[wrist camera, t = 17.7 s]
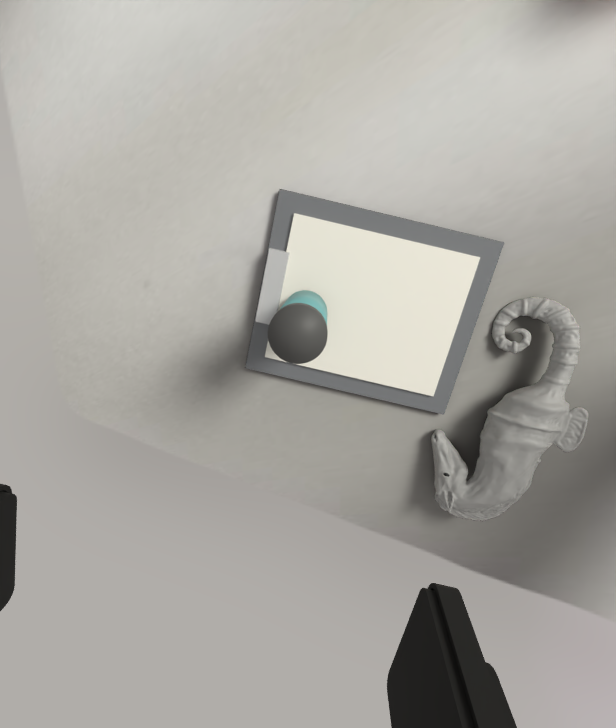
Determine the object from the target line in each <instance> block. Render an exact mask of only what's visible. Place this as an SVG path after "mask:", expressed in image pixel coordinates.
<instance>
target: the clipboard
mask: <svg viewBox="0 0 616 728" xmlns="http://www.w3.org/2000/svg"><path fill="white" fill-rule="evenodd" d="M503 245H504V242H500V241H496V240H492V239H488V238H484V237H479V236H475V235H471V234H467V233H463V232H458V231H454V230H450V229H446V228H442V227H438V226H433V225H429V224H425V223H421V222H417V221H412V220H408V219H404V218H400V217H396V216H392V215H387V214H383V213H379V212H375V211H371V210H366V209H362V208H358V207H354V206H350V205H345V204H341V203H337V202H333V201H329V200H325V199H320V198H316V197H312V196H308V195H304V194H299V193H295V192H291V191H287V190H283V189H280V190H279V196H278V201H277V206H276V211H275V216H274V222H273V227H272V232H271V237H270V242H269V247H268V253H267V258H266V263H265V268H264V273H263V279H262V284H261V289H260V294H259V299H258V305H257V310H256V315H255V320H254V325H253V331H252V336H251V341H250V346H249V351H248V357H247V362H246V367H245V368H247V369H251V370H256V371H260V372H264V373H268V374H273V375H277V376H281V377H285V378H290V379H294V380H298V381H303V382H307V383H311V384H315V385H320V386H324V387H328V388H333V389H337V390H341V391H345V392H350V393H354V394H358V395H362V396H367V397H371V398H375V399H380V400H384V401H388V402H392V403H397V404H401V405H405V406H409V407H414V408H418V409H422V410H427V411H431V412H435V413H439V414H444V413H445V410H446V407H447V404H448V401H449V399H450V396H451V393H452V390H453V387H454V384H455V382H456V379H457V376H458V373H459V370H460V367H461V364H462V362H463V359H464V356H465V353H466V350H467V347H468V344H469V342H470V339H471V336H472V333H473V330H474V327H475V325H476V322H477V319H478V316H479V313H480V310H481V307H482V305H483V302H484V299H485V296H486V293H487V290H488V287H489V285H490V282H491V279H492V276H493V273H494V270H495V268H496V265H497V262H498V259H499V256H500V253H501V250H502V248H503ZM302 290H308V291H312V292H315V293H317V294H318V295H319V296H321V298H322V299H323V300H324V302H325V304H326V306H327V330H328V335H327V343H326V346H325V348H324V350H323V351H322V353H321V354H320V355H319V356H318V357H317V358H315V359H314V360H312V361H310V362H307V363H303V364H293V363H289V362H286V361H284V360H282V359H281V358H279V357H278V356H277V355H276V354H275V353H274V352H273V350H272V348H271V347H270V344H269V341H268V327H269V324H270V321H271V320H272V318H273V317H274V315H275V314H276V313H277V312H278V311H279V310H280V308H281V307H282V306H283V304H284V303H285V302H286V300H287V299H288V298H289V297H290V296H291V295H292V294H293V293H295V292H298V291H302Z"/></svg>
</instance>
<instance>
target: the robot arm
mask: <svg viewBox="0 0 616 728" xmlns="http://www.w3.org/2000/svg"><path fill="white" fill-rule="evenodd" d="M16 510H17V497H16V496H15V494H12V491H11V488H10V486H7V485H3V484H0V611H1V610H2V609H3V608H4V606H5V605H6V604H7V603H8V601H9V600H10V598H11V596H12V593H13V591H14V586H15V549H16ZM387 692H388V701H389V709H390V717H391V726H392V728H517V727H516V724H515V721H514V719H513V716H512V714H511V711H510V708H509V705H508V703H507V700H506V697H505V695H504V692H503V689H502V687H501V684H500V681H499V679H498V676H497V674H496V672H495V670H494V668H493V667H492V666H491V665H490V664H489V663H486V662H485V660H484V657H483V655H482V652H481V649H480V646H479V643H478V641H477V638H476V635H475V632H474V630H473V627H472V624H471V621H470V618H469V616H468V613H467V610H466V607H465V604H464V602H463V599H462V596H461V594H460V592H459V590H458V589H457V588H453V587H448V586H444V585H440V584H436V583H431V584H430V585H429V587H428V589H426V588H422V589H421V590H420V592H419V595H418V598H417V600H416V603H415V605H414V608H413V611H412V613H411V616H410V618H409V621H408V624H407V626H406V629H405V632H404V634H403V637H402V639H401V642H400V644H399V647H398V650H397V652H396V655H395V658H394V660H393V663H392V665H391V668H390V670H389V674H388V680H387Z"/></svg>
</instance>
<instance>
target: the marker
mask: <svg viewBox="0 0 616 728" xmlns="http://www.w3.org/2000/svg"><path fill="white" fill-rule="evenodd" d="M327 335H328V330H327V306H326V304H325V302H324V300H323V299H322V298H321V296H319V295H318V294H317V293H315V292H312V291H308V290H302V291H298V292H295V293H293V294H292V295H291V296H290V297H289V298H288V299H287V300H286V302H285V303H284V304H283V306H282V307H281V308H280V310H279V311H278V312H277V313H276V314H275V315H274V317H273V318H272V320H271V321H270V324H269V327H268V341H269V344H270V347H271V348H272V350H273V352H274V353H275V354H276V355H277V356H278V357H279V358H281V359H282V360H284V361H286V362H289V363H293V364H303V363H307V362H310V361H312V360H314V359H315V358H317V357H318V356H319V355H320V354H321V353H322V351H323V350H324V348H325V346H326V343H327Z"/></svg>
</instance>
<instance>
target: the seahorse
mask: <svg viewBox="0 0 616 728" xmlns="http://www.w3.org/2000/svg"><path fill="white" fill-rule="evenodd" d="M519 316H530V317H532V318H533V319H539V320H541V321H542V322H544V323H546V324H547V325H548V326H549V327H550V331H551V332H552V333H553V336H554V344H552V347H553V351H552V355H551V356H550V362H549V365H548V368H547V370H546V372H545V373H544V374H543V375H542V377H541V379H540V380H539V381H538V382H537V383H535V384H533V385H530V386H527V387H523V388H520V389H517V390H514V391H512V392H510V393H507V394H506V395H505V396H504V397H503V399H502V400H501V401H500V402H498V403H497V404H496V405H495V406H494V407H491V408H489V410H488V411H487V414H488V417H487V419H486V422H485V425H484V429H483V430H482V431H481V434H480V439H481V442H480V450H479V452H480V456H479V458H478V460H477V464H476V469H475V472H474V474H473V476H472V477H471V478H470V479H467V475H468V467H467V466H466V463H465V462H464V461H463V460H462V458H461V456H460V454H459V453H458V451H457V450H456V449H455V447H454V446H453V445H452V444H451V442H450V441H449V440H448V439H447V437H446V436H445V433H444V432H443V431H442V430H440V429H437V430H435V432H434V433H433V434H432V436H431V442H432V447H433V456H434V467H435V481H434V486H435V489H436V493H435V496H434V498H435V501H436V502H437V503H438V504H439V506H440V508H441V509H443V510H444V511H448V512H449V513H450V514H452V515H454V516H456V517H460V518H465V519H471V520H474V521H476V520H480V521H484V520H488V519H492V518H494V517H497V516H499V515H500V514H501V513H504V512H505V511H506V510H507V509H508V508H509V506H511V505H513V504H514V503H515V502H517V501H518V500H519V498H520V497H521V496H522V495H523V494H524V493H525V492H526V491H527V490H528V489H529V487H530V486H531V482H532V478H533V473H534V471H535V469H536V467H537V465H538V463H540V462H541V460H540V457H541V455H542V454H543V453H544V451H545V450H546V449H547V448H549V447H550V446H551V445H552V444H554V445H556V446H557V447H559V448H560V449H562V450H563V451H564V452H571V451H573V450H574V449H575V448H576V447H577V446H578V445H579V444H580V443H581V441H582V440H583V437H584V433H585V430H586V427H587V422H588V416H589V414H588V412H587V411H586V410H585V409H584V408H582V407H576V408H574V409H572V410H571V411H569V408H570V406H569V404H568V403H567V402H566V401H565V392H566V389H567V386H568V385H569V384H570V378H571V375H572V373H573V370H574V368H575V365H577V364H578V361H577V358H578V353H579V350H580V349H581V346H580V334H579V329H580V326H579V325H578V324H577V322H576V320H575V318H574V317H573V315H572V314H571V313H570V309H569V308H568V307H564V306H563V305H561V304H560V303H558V302H556V301H554V300H550V299H548V298H538V297H529V298H524V299H520V300H517V301H514V302H512V303H510V304H508V305H507V306H505V307H504V308H503V309H502V310H501V311H500V312H499V314H498V315H497V317H496V319H495V321H494V323H493V330H492V337H493V339H494V341H495V343H496V345H498V347H499V348H500V349H503V350H504V351H507V352H512V353H513V354H515V353H518V352H521V351H522V350H523V349H524V348H526V347H527V346H529V345H530V342H531V333H530V332H529V331H528V330H526V329H523V328H516V329H514V330H513V332H512V333H521V334H522V335H523V339H522V340H521V342H519V343H517V342H516V341H509V340H508V339H506V338H505V327H506V326H507V325H508V324H509V322H510V321H511V320H513V319H515V318H517V317H519Z"/></svg>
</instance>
